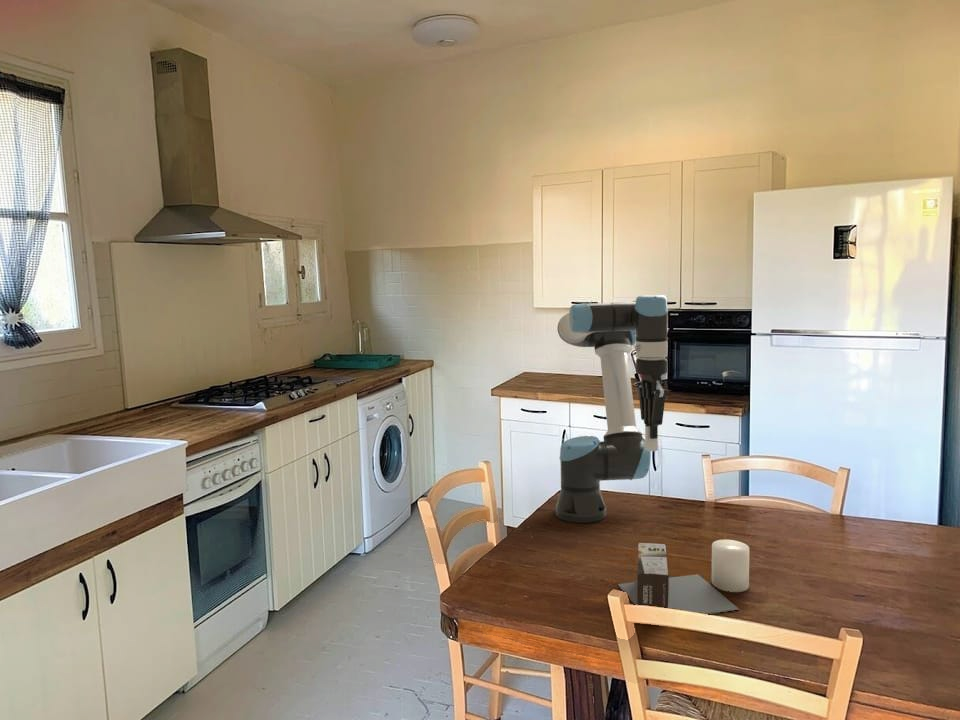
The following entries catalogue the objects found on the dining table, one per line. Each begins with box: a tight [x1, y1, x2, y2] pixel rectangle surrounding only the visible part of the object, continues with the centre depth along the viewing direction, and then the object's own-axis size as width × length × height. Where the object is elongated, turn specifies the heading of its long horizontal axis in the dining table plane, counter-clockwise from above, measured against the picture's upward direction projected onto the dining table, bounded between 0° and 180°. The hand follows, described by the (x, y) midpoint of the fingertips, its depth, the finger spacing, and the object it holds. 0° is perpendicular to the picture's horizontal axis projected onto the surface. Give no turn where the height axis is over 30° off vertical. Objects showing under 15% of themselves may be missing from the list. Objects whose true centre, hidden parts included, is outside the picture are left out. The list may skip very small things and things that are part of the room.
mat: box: [617, 573, 739, 615], centre depth 144 cm, size 17×20×1 cm
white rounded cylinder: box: [711, 539, 750, 593], centre depth 149 cm, size 8×8×9 cm
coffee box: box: [636, 542, 670, 608], centre depth 144 cm, size 9×6×16 cm
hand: (651, 450), depth 164 cm, fingers closed
